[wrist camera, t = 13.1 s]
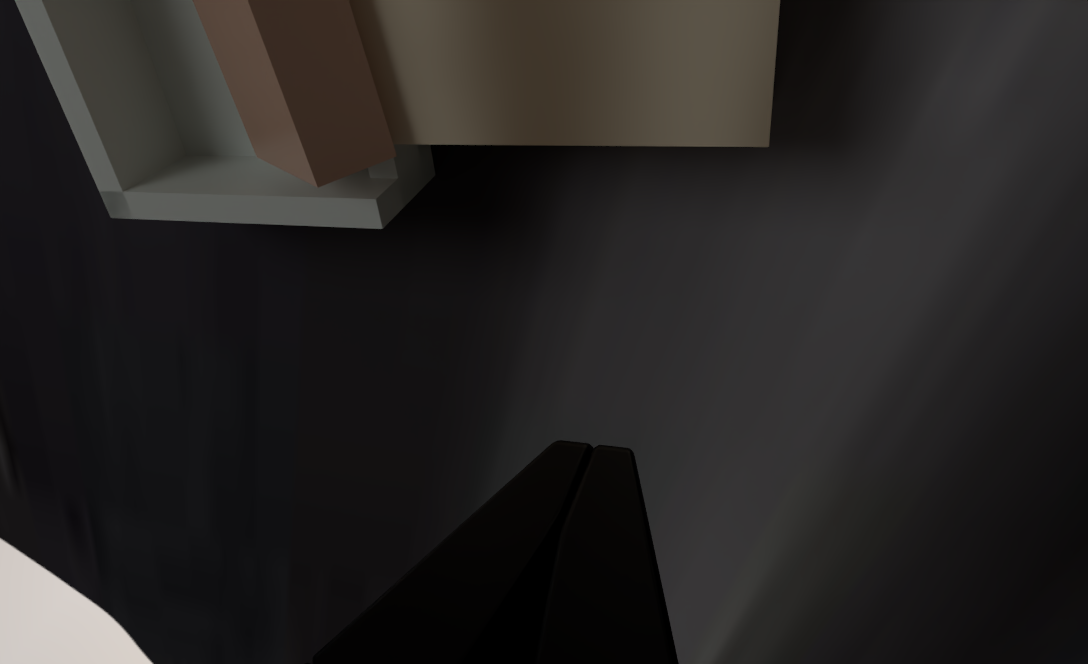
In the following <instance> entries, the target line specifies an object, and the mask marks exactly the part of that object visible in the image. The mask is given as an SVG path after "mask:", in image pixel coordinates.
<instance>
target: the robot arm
mask: <svg viewBox="0 0 1088 664" xmlns="http://www.w3.org/2000/svg"><path fill="white" fill-rule="evenodd" d="M305 664H310V663H305ZM312 664H678V659H677V654H676V649H675V645H674V640H673V635H672V631H671V626H670V621H669V616H668V612H667V607H666V602H665V597H664V593H663V588H662V583H661V579H660V574H659V569H658V564H657V560H656V555H655V550H654V545H653V541H652V536H651V531H650V527H649V522H648V517H647V512H646V508H645V503H644V498H643V493H642V489H641V484H640V479H639V474H638V470H637V465H636V460H635V456H634V453H633V451H632V450H631V449H629V448H623V447H615V446H606V445H598V446H596V447H595V448H593V447H592V446H591V445H590V444H588V443H580V442H571V441H563V440H560V441H556V442H554V443H552V444H551V445H550V446H549V447H548V448H546V449H545V450H544V451H543V452H542V453H541V454H540V455H539V456H537V457H536V458H535V459H534V460H533V461H532V462H531V463H530V464H528V465H527V466H526V467H525V468H524V469H523V470H522V471H521V472H519V473H518V474H517V475H516V476H515V477H514V478H513V479H512V480H511V481H509V482H508V483H507V484H506V485H505V486H504V487H503V488H502V489H500V490H499V491H498V492H497V493H496V494H495V495H494V496H493V497H491V498H490V499H489V500H488V501H487V502H486V503H485V504H484V505H482V506H481V507H480V508H479V509H478V510H477V511H476V512H475V513H473V514H472V515H471V516H470V517H469V518H468V519H467V520H466V521H465V522H463V523H462V524H461V525H460V526H459V527H458V528H457V529H456V530H454V531H453V532H452V533H451V534H450V535H449V536H448V537H447V538H445V539H444V540H443V541H442V542H441V543H440V544H439V545H438V546H436V547H435V548H434V549H433V550H432V551H431V552H430V553H429V554H428V555H426V556H425V557H424V558H423V559H422V560H421V561H420V562H419V563H417V564H416V565H415V566H414V567H413V568H412V569H411V570H410V571H408V572H407V573H406V574H405V575H404V576H403V577H402V578H401V579H399V580H398V581H397V582H396V583H395V584H394V585H393V586H392V587H391V588H389V589H388V590H387V591H386V592H385V593H384V594H383V595H382V596H380V597H379V598H378V599H377V600H376V601H375V602H374V603H373V604H371V605H370V606H369V607H368V608H367V609H366V610H365V611H364V612H362V613H361V614H360V615H359V616H358V617H357V618H356V619H355V620H354V621H352V622H351V623H350V624H349V625H348V626H347V627H346V628H345V629H343V630H342V631H341V632H340V633H339V634H338V635H337V636H336V637H334V638H333V639H332V640H331V641H330V642H329V643H328V644H327V645H325V646H324V647H323V648H322V649H321V650H320V651H319V652H318V653H317V654H315V655H314V656H313V658H312Z"/></svg>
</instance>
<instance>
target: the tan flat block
mask: <svg viewBox="0 0 1088 664" xmlns="http://www.w3.org/2000/svg"><path fill="white" fill-rule="evenodd" d="M349 3H350V6H351V10H352V13H353V16H354V19H355V23H356V26H357V29H358V32H359V35H360V39H361V42H362V45H363V48H364V52H365V55H366V58H367V61H368V65H369V68H370V71H371V74H372V77H373V81H374V84H375V87H376V90H377V94H378V97H379V100H380V103H381V106H382V110H383V113H384V116H385V119H386V123H387V126H388V129H389V132H390V135H391V139H392V142H393V144H419V145H555V146H692V147H769V139H770V126H771V113H772V100H773V87H774V74H775V61H776V48H777V35H778V22H779V9H780V0H349Z"/></svg>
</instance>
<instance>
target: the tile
mask: <svg viewBox="0 0 1088 664" xmlns="http://www.w3.org/2000/svg"><path fill="white" fill-rule="evenodd" d="M192 1H193V3H194V5H195V8H196V10H197V13H198V15H199V18H200V20H201V22H202V25H203V27H204V30H205V32H206V35H207V37H208V39H209V42H210V44H211V47H212V49H213V52H214V54H215V57H216V59H217V61H218V64H219V66H220V69H221V71H222V74H223V76H224V78H225V81H226V83H227V86H228V88H229V91H230V93H231V95H232V98H233V100H234V103H235V105H236V108H237V110H238V113H239V115H240V117H241V120H242V122H243V125H244V127H245V130H246V132H247V134H248V137H249V139H250V142H251V144H252V147H253V149H254V152H255V154H256V156H257V158H259V159H261V160H263V161H265V162H267V163H269V164H271V165H273V166H275V167H277V168H279V169H281V170H283V171H285V172H287V173H289V174H291V175H293V176H295V177H297V178H299V179H301V180H303V181H305V182H307V183H309V184H311V185H313V186H315V187H317V188H318V187H321V186H323V185H326V184H328V183H331V182H333V181H336V180H338V179H341V178H343V177H346V176H349V175H351V174H354V173H356V172H359V171H361V170H364V169H366V168H369V167H371V166H374V165H376V164H379V163H381V162H384V161H386V160H389V159H391V158H394V157H396V156H397V155H396V152H395V148H394V145H393V142H392V139H391V135H390V132H389V129H388V126H387V123H386V119H385V116H384V113H383V110H382V106H381V103H380V100H379V97H378V94H377V90H376V87H375V84H374V81H373V77H372V74H371V71H370V68H369V65H368V61H367V58H366V55H365V52H364V48H363V45H362V42H361V39H360V35H359V32H358V29H357V26H356V23H355V19H354V16H353V13H352V10H351V6H350V3H349V0H192Z"/></svg>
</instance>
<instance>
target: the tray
mask: <svg viewBox="0 0 1088 664" xmlns="http://www.w3.org/2000/svg"><path fill="white" fill-rule="evenodd" d="M15 2H16V4H17V6H18V9H19V11H20V13H21V15H22V18H23V20H24V22H25V25H26V27H27V29H28V31H29V34H30V36H31V38H32V40H33V43H34V45H35V47H36V49H37V52H38V54H39V56H40V58H41V61H42V63H43V65H44V68H45V70H46V72H47V74H48V77H49V79H50V81H51V83H52V86H53V88H54V90H55V92H56V95H57V97H58V99H59V101H60V104H61V106H62V108H63V111H64V113H65V115H66V117H67V120H68V122H69V124H70V126H71V129H72V131H73V133H74V135H75V138H76V140H77V142H78V144H79V147H80V149H81V151H82V154H83V156H84V158H85V160H86V163H87V165H88V167H89V169H90V172H91V174H92V176H93V178H94V181H95V183H96V185H97V187H98V190H99V192H100V194H101V197H102V199H103V201H104V203H105V206H106V208H107V210H108V212H109V215H110V217H111V218H126V219H151V220H176V221H200V222H225V223H249V224H274V225H298V226H323V227H347V228H372V229H383V228H384V227H385V226H386V225H387V224H388V223H389V222H390V221H391V220H392V219H393V218H394V217H395V216H396V215H397V214H398V213H399V212H400V211H401V210H402V209H403V208H404V207H405V206H406V205H407V204H408V203H409V202H410V200H411V199H412V198H413V197H414V196H415V195H416V194H417V193H418V192H419V191H420V190H421V189H422V188H423V187H424V186H425V185H426V184H427V183H428V182H429V181H430V180H431V179H432V178H433V177H434V176H435V169H434V163H433V158H432V152H431V146H430V145H419V144H393V145H394V148H395V152H396V155H397V156H396V157H394V158H391V159H389V160H386V161H384V162H381V163H379V164H376V165H374V166H371V167H369V168H366V169H364V170H361V171H359V172H356V173H354V174H351V175H349V176H346V177H343V178H341V179H338V180H336V181H333V182H331V183H328V184H326V185H323V186H321V187H318V188H317V187H315V186H313V185H311V184H309V183H307V182H305V181H303V180H301V179H299V178H297V177H295V176H293V175H291V174H289V173H287V172H285V171H283V170H281V169H279V168H277V167H275V166H273V165H271V164H269V163H267V162H265V161H263V160H261V159H259V158H257V156H256V154H255V152H254V149H253V147H252V144H251V142H250V139H249V137H248V134H247V132H246V130H245V127H244V125H243V122H242V120H241V117H240V115H239V113H238V110H237V108H236V105H235V103H234V100H233V98H232V95H231V93H230V91H229V88H228V86H227V83H226V81H225V78H224V76H223V74H222V71H221V69H220V66H219V64H218V61H217V59H216V57H215V54H214V52H213V49H212V47H211V44H210V42H209V39H208V37H207V35H206V32H205V30H204V27H203V25H202V22H201V20H200V18H199V15H198V13H197V10H196V8H195V5H194V3H193V1H192V0H15Z"/></svg>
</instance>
